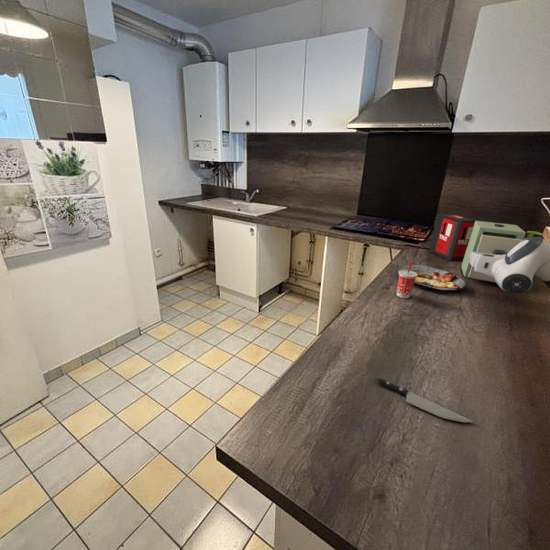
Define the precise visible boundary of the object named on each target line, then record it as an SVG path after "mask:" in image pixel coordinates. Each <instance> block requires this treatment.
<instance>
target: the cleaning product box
mask: <svg viewBox="0 0 550 550" xmlns="http://www.w3.org/2000/svg"><path fill="white" fill-rule="evenodd" d="M475 221H478V220H476V219H473V218H471V217H466V216H463V215H459V214H456V213H438V214H437V217H436V220H435V224H434V228H433V232H432V236H431V239H430V242H429V243H430V244H429V247H428V251H429V252H432V253H434V254H435V255H438V256H440V257H442V258H444V259H446V260H448V261H451V262H454V261H463V259H464V256H465V253H466V250H467V247H468V243H469V240H470V237H471V234H472V230H473V227H474V224H475Z"/></svg>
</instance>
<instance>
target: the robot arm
mask: <svg viewBox="0 0 550 550" xmlns="http://www.w3.org/2000/svg"><path fill="white" fill-rule="evenodd" d="M468 260H469V263H470V264H471V266H473V267H474V271H476V272H479V273H483V274H486V275H489V276H491V277H493V278H494V279H495V281H496V282H495V283H496V284H497V285H498V287H499V288H500V289H501V290H503V291H504V292H506V293H509V294H514V295H517V294H518V295H521V294H525V293H526V292H528V291H529V290H531V288H532V287H533V284H534V283H533V282H534V277H535V278H537V279H539V280H540V281H541V282H542V283H544V285H546V286H547V287H548V288H550V241H549V240H546V239H545V238H543V237H541V236H533V238H528V239H523V240H522V241H520V242H518V243H517V244H515V245H514V246H513V247H512V248H511V249H510V250H509V251H508V252H507V253H506V254H503V255H495V254H493V253H490V254H487V253H481V252H474V251H472V252H471V253H470V255H469V259H468Z"/></svg>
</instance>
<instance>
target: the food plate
mask: <svg viewBox="0 0 550 550" xmlns="http://www.w3.org/2000/svg"><path fill="white" fill-rule="evenodd" d="M409 265H410V264H409ZM409 265H408V264H407V265H403V266H400V268H399V269H398V270H397V272H398V274H399V271H400V270H408V269H409ZM410 271H413V272H415V273H417V278H416V279H415V282H414V284H417V285H421V286H424V287H428V288H432V289H436V290H440V291H448V292H449V291H450V292H451V291H459V290H463V289H464V288H465V287H466V286H467V283H466V281H465V280H464V279H463V278H462V277H461V276H459V275H457V274H456V273H453V272H451V271H447V270H444V269H440V268H435V267H433V266H432V267H431V266H426V265H416V264H414V265H412V264H411V267H410Z"/></svg>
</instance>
